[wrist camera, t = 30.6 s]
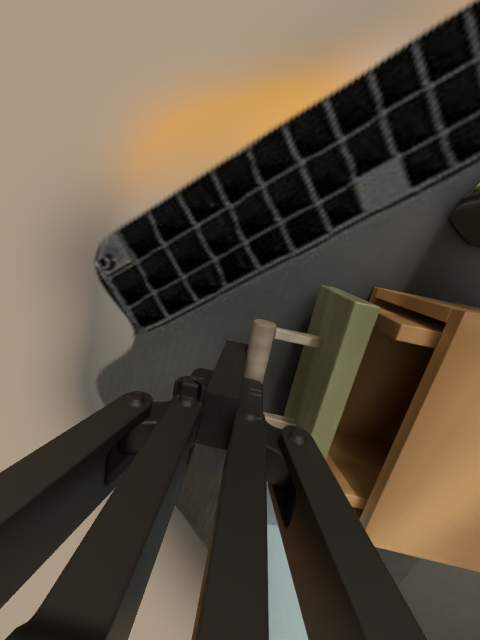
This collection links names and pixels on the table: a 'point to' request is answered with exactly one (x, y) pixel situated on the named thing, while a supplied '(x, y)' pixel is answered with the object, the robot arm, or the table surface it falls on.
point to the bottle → (281, 587)
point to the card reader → (469, 216)
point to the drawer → (350, 380)
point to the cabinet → (434, 447)
